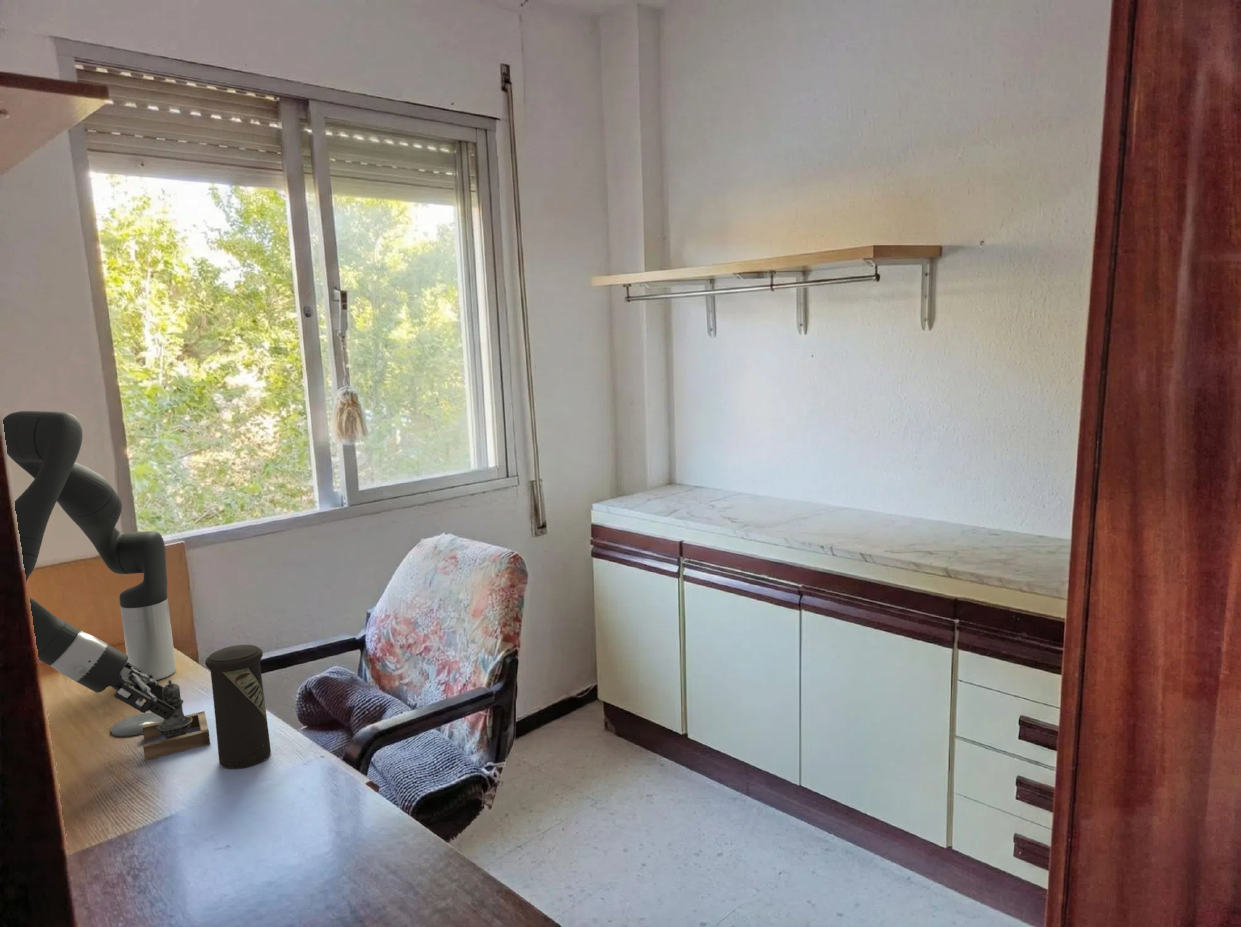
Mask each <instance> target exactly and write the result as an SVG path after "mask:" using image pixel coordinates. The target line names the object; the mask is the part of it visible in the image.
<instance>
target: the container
mask: <svg viewBox="0 0 1241 927" xmlns="http://www.w3.org/2000/svg"><path fill="white" fill-rule="evenodd" d="M263 654H264V652H263V650H262V648H260V647H258V646H257V645H255V644H253V645H252V644H239V645H238V644H237V645H232V646H227V647H224V648H220V649H218V650H216V651H214V652H212V653H210V655H209V656H208V657H206V659H205V661H204V664H205V667H206V668H207V669H208V670H209V671H210V678H211V687H212V699H213V709H214V718H215V729H216V731H215V732H216V740H217V741H216V742H217V751H218V752H217V754H218V761H219V764H220V766H221V767H223V768H226V769H244V768H248V767H252V766H256V765H258V764H260V763H261V762H264V761H266V760H268V759H269V757H270V755H271V754H272V750H271V742H270V733H269V732H270V731H269V726H268V724H269V723H268V717H267V710H266V702H265V701H266V700H265V694H264V686H263V676H262V669H261V660H262V658H263V656H264V655H263Z"/></svg>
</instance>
